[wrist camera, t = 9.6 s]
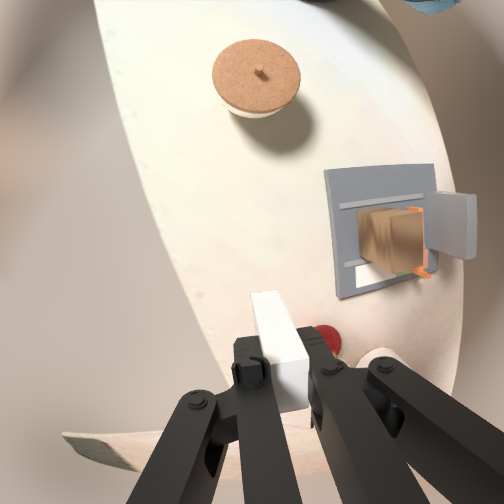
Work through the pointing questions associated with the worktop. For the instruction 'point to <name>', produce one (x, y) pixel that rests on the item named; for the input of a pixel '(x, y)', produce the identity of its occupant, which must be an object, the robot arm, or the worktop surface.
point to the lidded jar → (255, 78)
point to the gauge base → (398, 197)
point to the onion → (330, 338)
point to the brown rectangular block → (391, 238)
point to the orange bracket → (419, 270)
